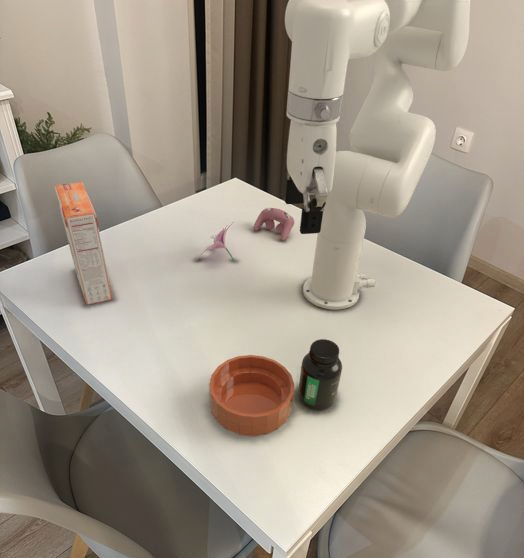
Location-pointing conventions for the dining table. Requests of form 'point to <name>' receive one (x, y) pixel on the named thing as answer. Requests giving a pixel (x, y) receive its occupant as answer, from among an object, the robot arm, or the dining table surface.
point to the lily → (219, 241)
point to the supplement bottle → (320, 375)
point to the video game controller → (279, 215)
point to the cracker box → (84, 242)
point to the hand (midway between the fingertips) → (301, 217)
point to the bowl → (251, 395)
